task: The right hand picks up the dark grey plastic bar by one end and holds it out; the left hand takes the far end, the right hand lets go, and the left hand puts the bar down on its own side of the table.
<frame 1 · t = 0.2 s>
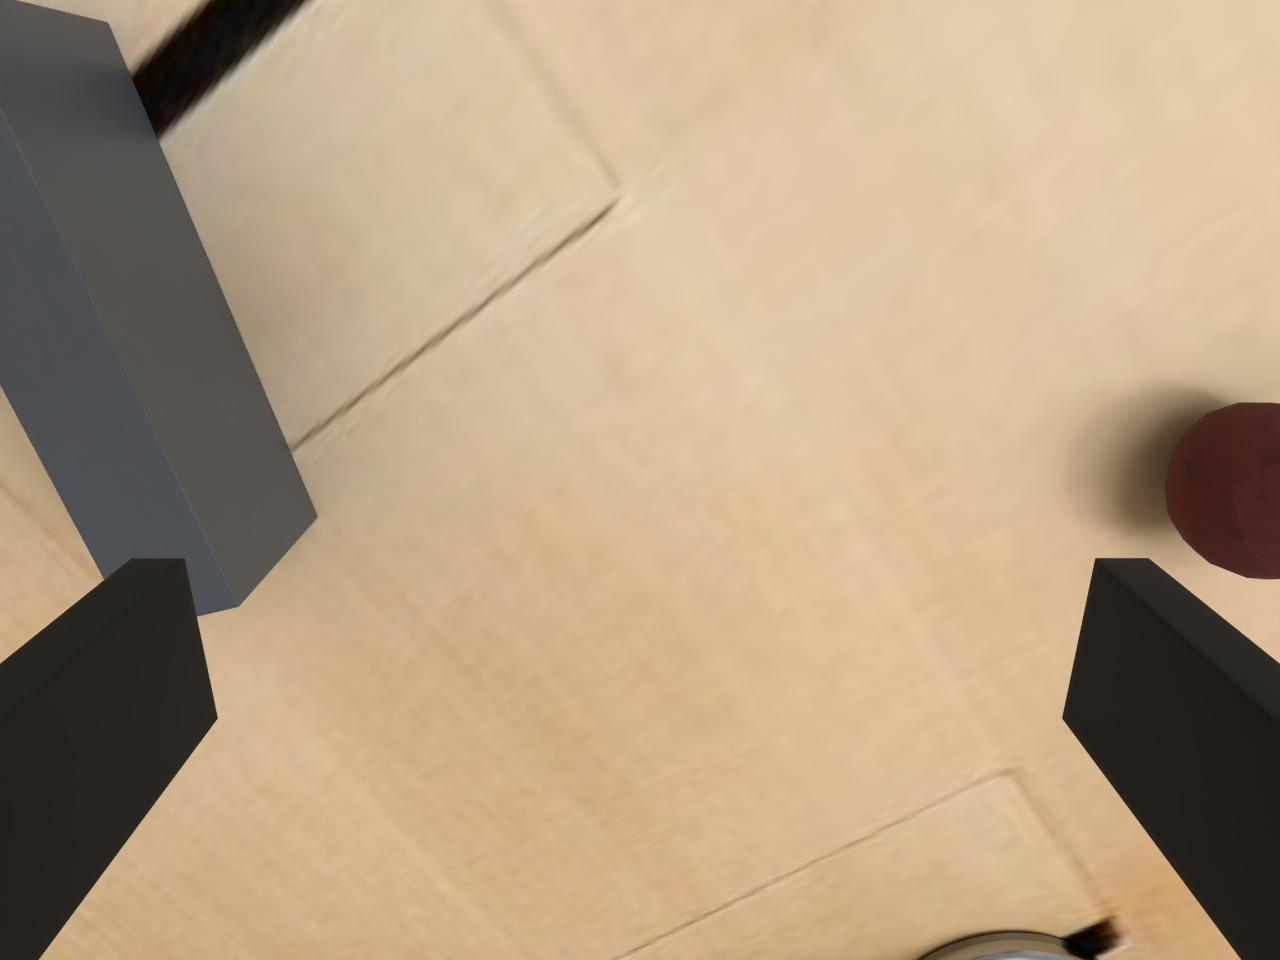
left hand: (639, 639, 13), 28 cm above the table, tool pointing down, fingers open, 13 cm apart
dark maroon ball: (1209, 459, 41), on the table
bar: (176, 307, 39), on the table
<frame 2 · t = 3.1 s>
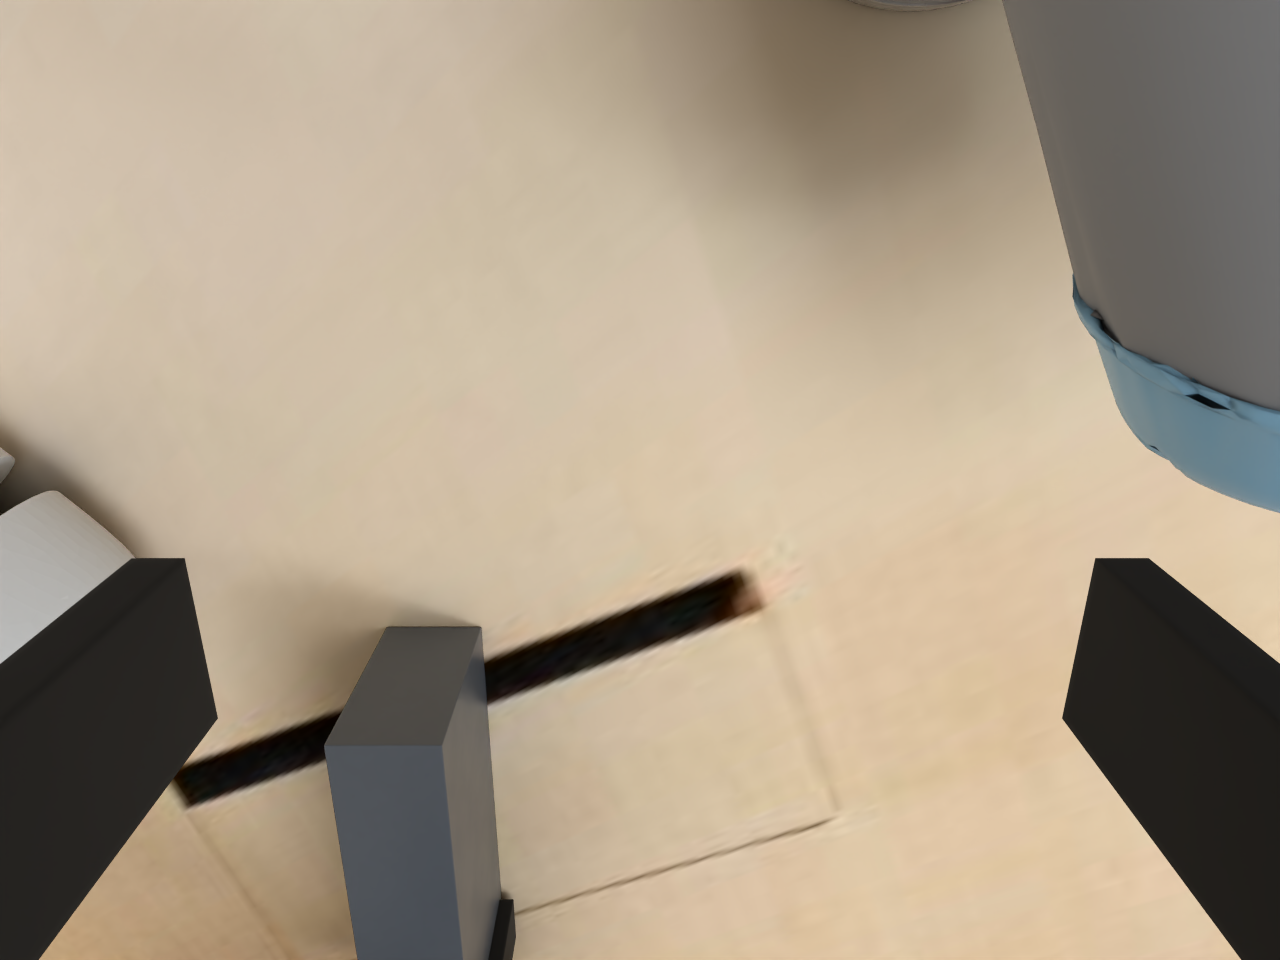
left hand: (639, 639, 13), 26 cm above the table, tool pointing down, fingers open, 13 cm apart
bar: (451, 810, 46), on the table, touching right hand
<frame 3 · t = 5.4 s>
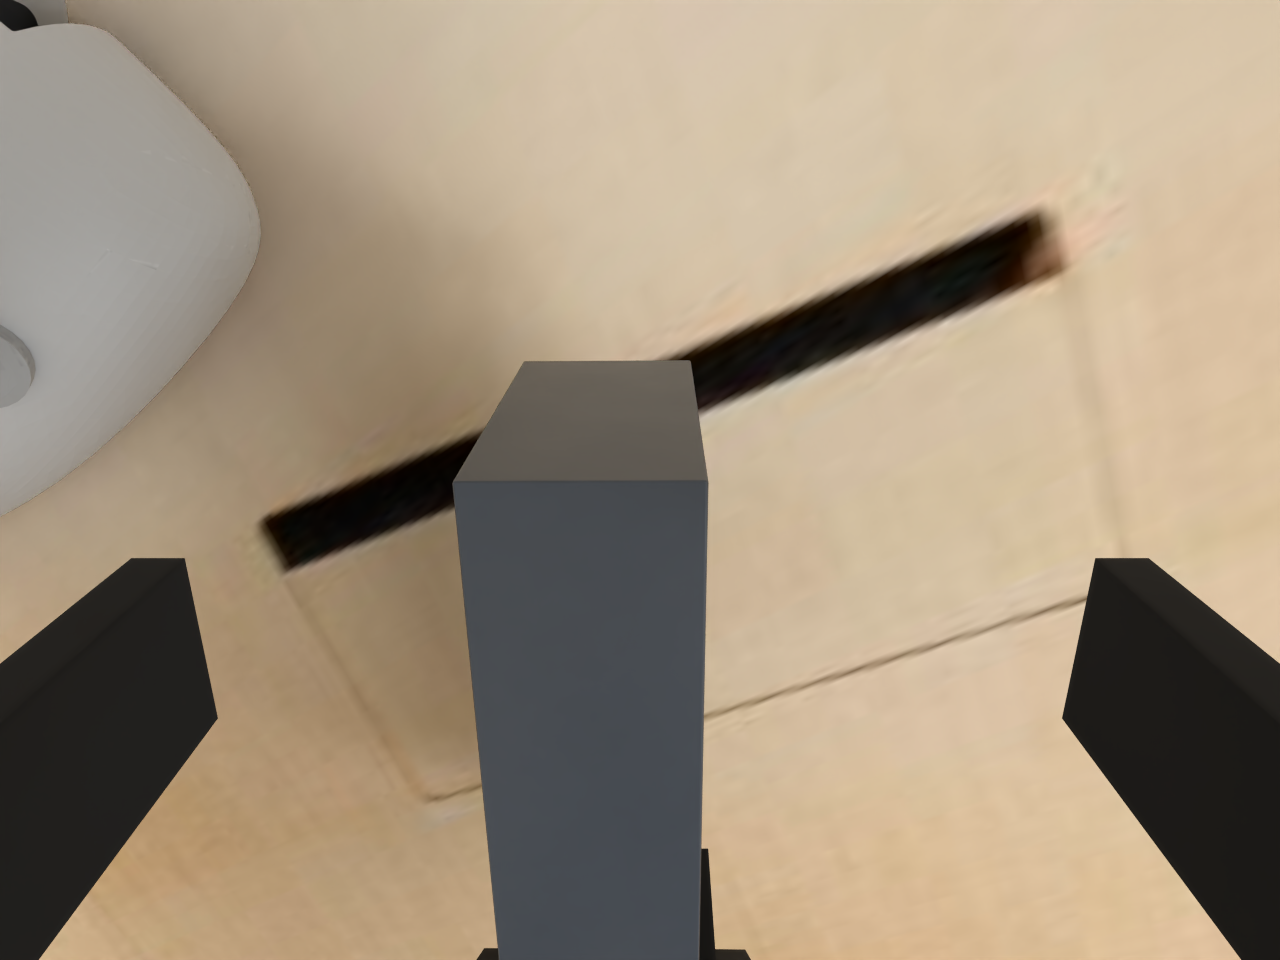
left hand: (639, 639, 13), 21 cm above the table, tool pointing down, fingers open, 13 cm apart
bar: (615, 700, 28), point 8 cm above the table, touching right hand
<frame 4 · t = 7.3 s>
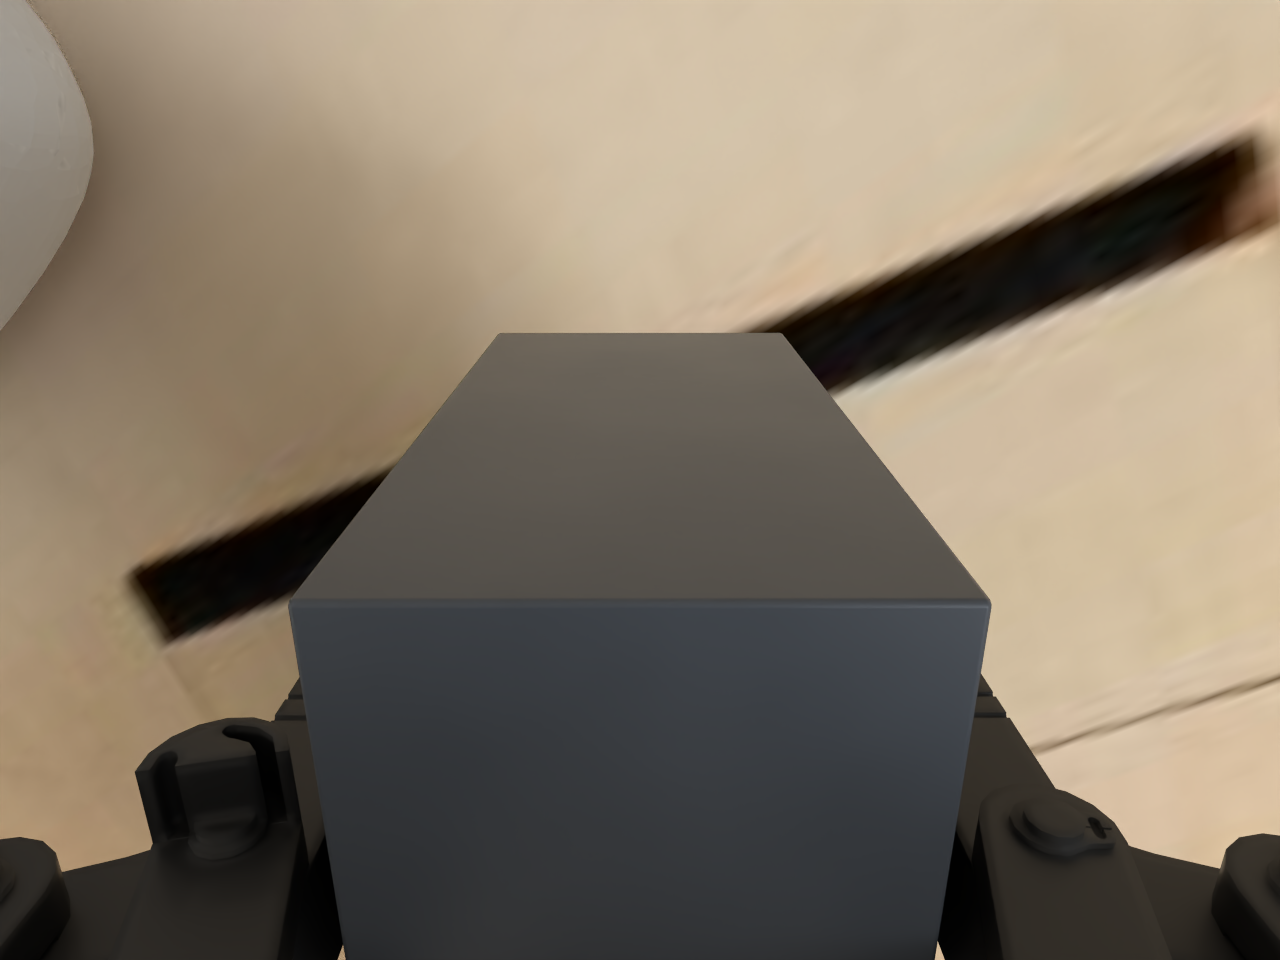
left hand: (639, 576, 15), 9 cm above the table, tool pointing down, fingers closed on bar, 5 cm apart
bar: (640, 869, 18), point 8 cm above the table, touching left hand, right hand
when the right hand's fingers open (9 cm above the table, at t = 8.0 s): bar stays where it is, held by the left hand.
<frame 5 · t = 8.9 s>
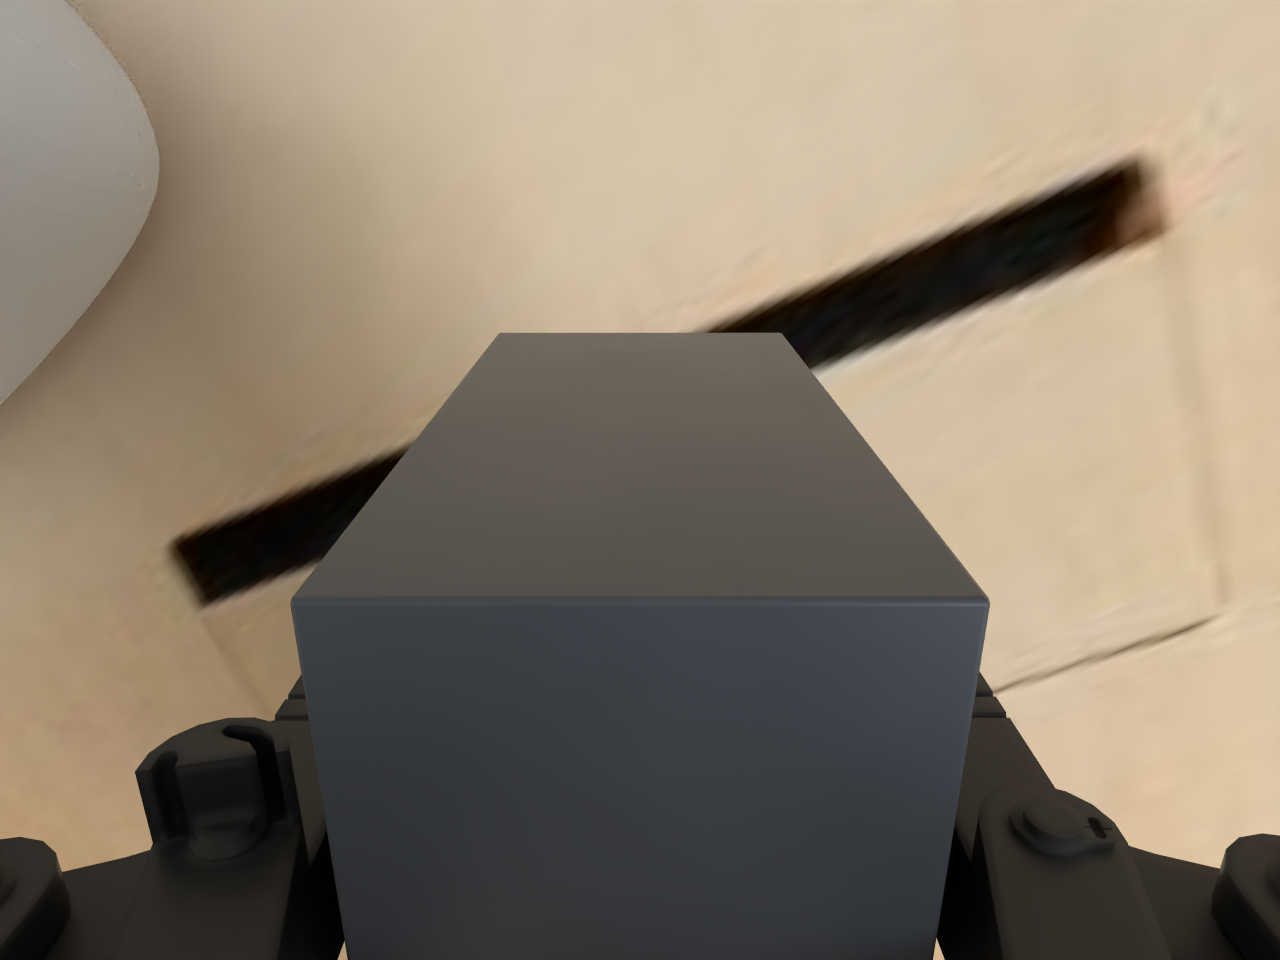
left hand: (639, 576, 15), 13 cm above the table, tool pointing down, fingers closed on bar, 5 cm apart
bar: (640, 868, 18), point 12 cm above the table, touching left hand
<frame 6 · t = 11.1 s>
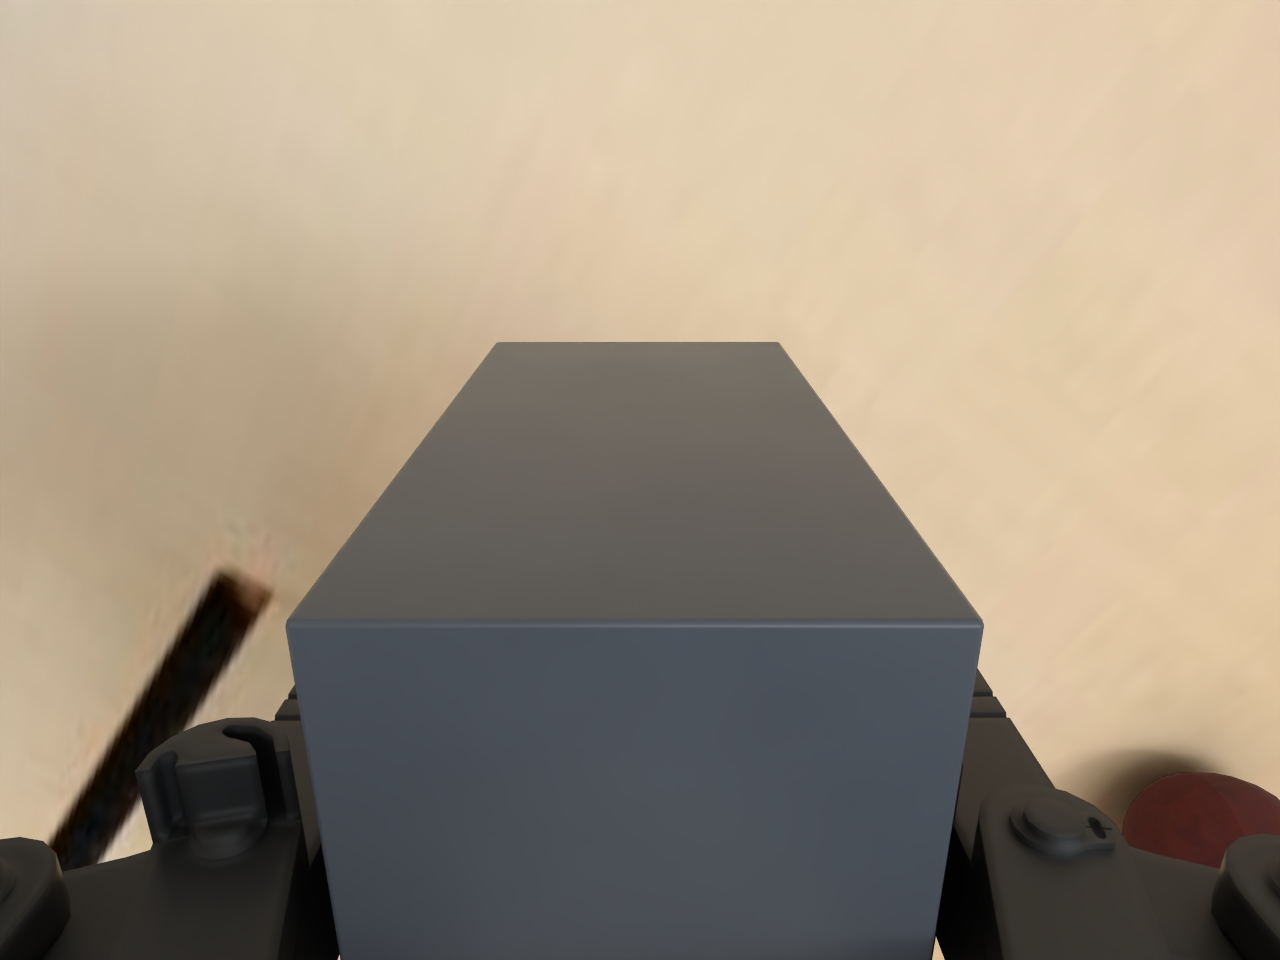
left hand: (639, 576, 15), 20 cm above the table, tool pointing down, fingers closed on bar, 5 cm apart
dark maroon ball: (1167, 800, 41), on the table
bar: (638, 875, 18), point 19 cm above the table, touching left hand
when the left hand's fingers open (2 cm above the table, at t = 15.0 s): bar drops 1 cm, on the table.
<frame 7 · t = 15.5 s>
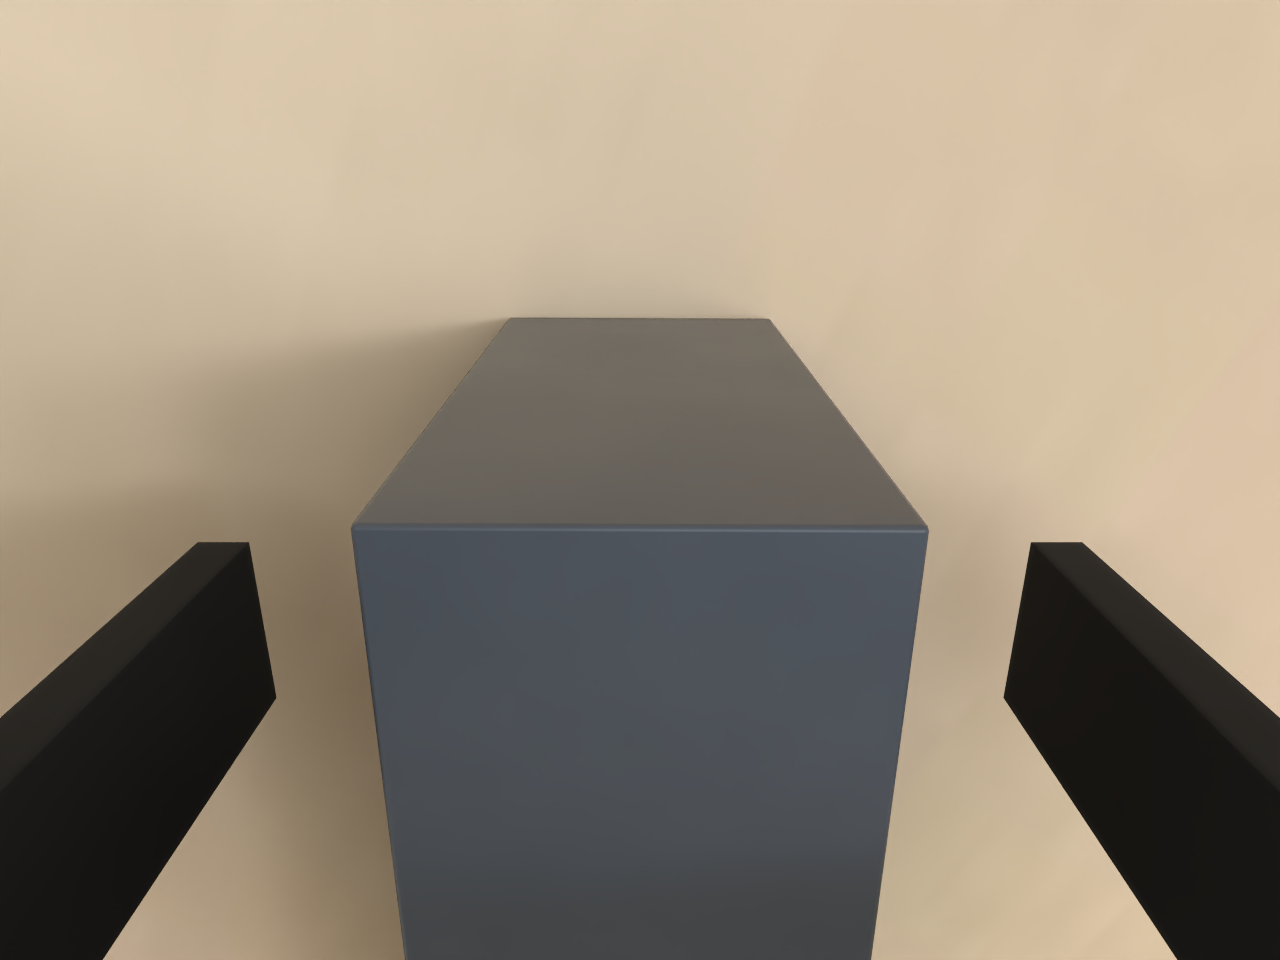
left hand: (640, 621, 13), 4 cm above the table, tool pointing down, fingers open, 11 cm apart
bar: (637, 822, 19), on the table
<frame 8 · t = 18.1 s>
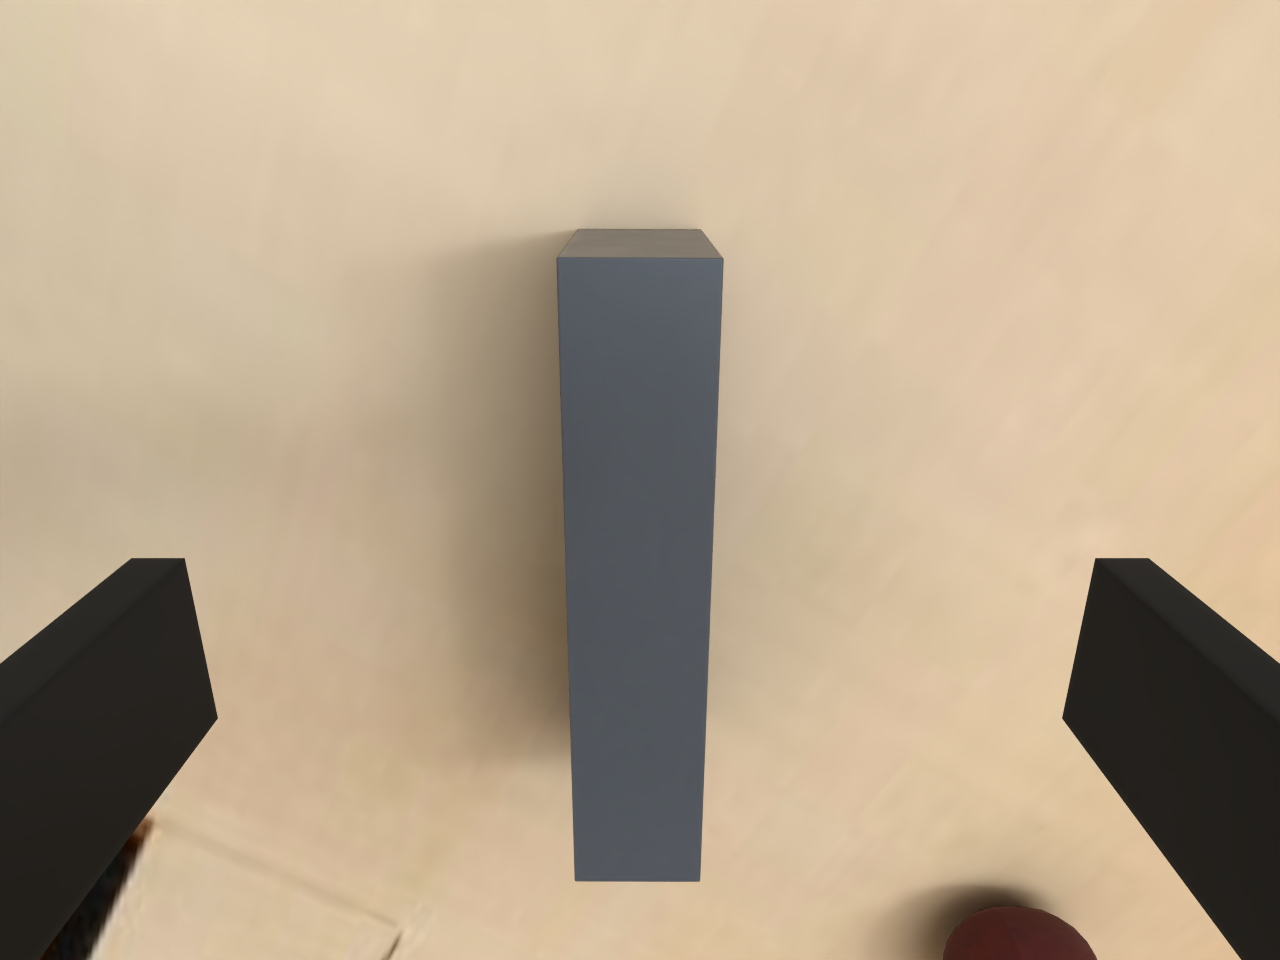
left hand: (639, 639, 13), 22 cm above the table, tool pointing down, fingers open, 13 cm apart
dark maroon ball: (994, 925, 44), on the table
bar: (638, 506, 36), on the table
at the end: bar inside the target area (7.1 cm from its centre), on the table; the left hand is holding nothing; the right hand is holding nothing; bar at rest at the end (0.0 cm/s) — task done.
